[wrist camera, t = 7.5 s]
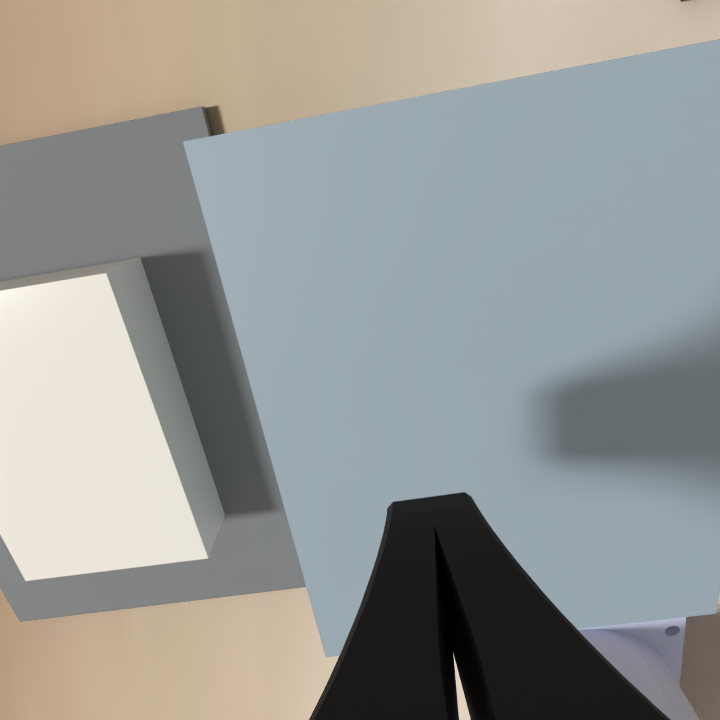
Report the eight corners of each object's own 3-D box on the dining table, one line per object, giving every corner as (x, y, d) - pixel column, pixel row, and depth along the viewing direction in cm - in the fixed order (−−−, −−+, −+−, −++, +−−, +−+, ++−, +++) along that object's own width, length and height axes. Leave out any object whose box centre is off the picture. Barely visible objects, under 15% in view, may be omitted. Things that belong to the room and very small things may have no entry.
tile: (25, 581, 16) (60, 536, 18) (208, 558, 15) (224, 515, 17) (-122, 311, 13) (-59, 291, 14) (105, 272, 12) (140, 257, 14)
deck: (642, 517, 18) (716, 613, 14) (333, 555, 18) (325, 657, 15) (665, 64, 12) (793, 25, 9) (234, 146, 13) (183, 141, 9)
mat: (325, 578, 19) (324, 584, 18) (24, 615, 20) (20, 621, 19) (205, 107, 13) (201, 106, 13) (-218, 190, 14) (-230, 190, 13)
